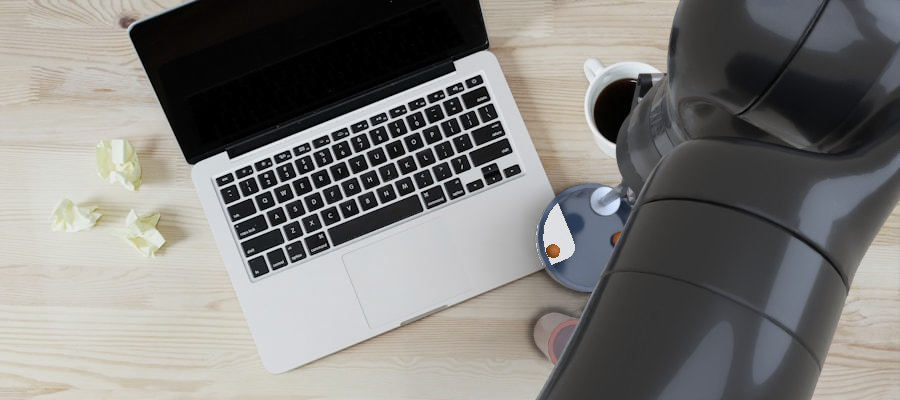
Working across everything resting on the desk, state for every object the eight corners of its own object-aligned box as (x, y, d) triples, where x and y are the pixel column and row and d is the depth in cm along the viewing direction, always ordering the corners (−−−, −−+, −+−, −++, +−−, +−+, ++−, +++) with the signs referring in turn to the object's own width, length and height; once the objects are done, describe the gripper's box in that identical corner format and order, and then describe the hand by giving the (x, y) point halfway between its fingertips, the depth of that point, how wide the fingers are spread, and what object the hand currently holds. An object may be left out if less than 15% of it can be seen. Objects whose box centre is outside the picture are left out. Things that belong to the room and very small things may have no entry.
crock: (576, 355, 87) (604, 375, 67) (533, 355, 87) (548, 375, 67) (575, 312, 87) (602, 319, 67) (533, 312, 87) (547, 319, 68)
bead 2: (612, 229, 87) (617, 244, 88) (608, 238, 86) (614, 252, 86) (628, 227, 86) (633, 241, 87) (625, 235, 85) (630, 250, 85)
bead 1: (553, 250, 85) (538, 252, 86) (561, 261, 86) (547, 263, 87) (557, 237, 86) (542, 240, 87) (565, 248, 87) (551, 251, 88)
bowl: (640, 291, 87) (649, 291, 82) (535, 292, 88) (538, 292, 83) (636, 188, 89) (645, 183, 84) (533, 190, 89) (536, 184, 84)
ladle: (618, 216, 75) (667, 190, 56) (589, 217, 75) (627, 191, 56) (617, 187, 76) (665, 151, 56) (588, 188, 76) (625, 152, 56)
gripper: (624, 27, 44) (585, 100, 62) (632, 255, 43) (589, 265, 60) (751, 24, 44) (676, 99, 61) (764, 254, 42) (683, 264, 60)
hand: (633, 181), depth 61 cm, fingers closed on ladle, 1 cm apart
